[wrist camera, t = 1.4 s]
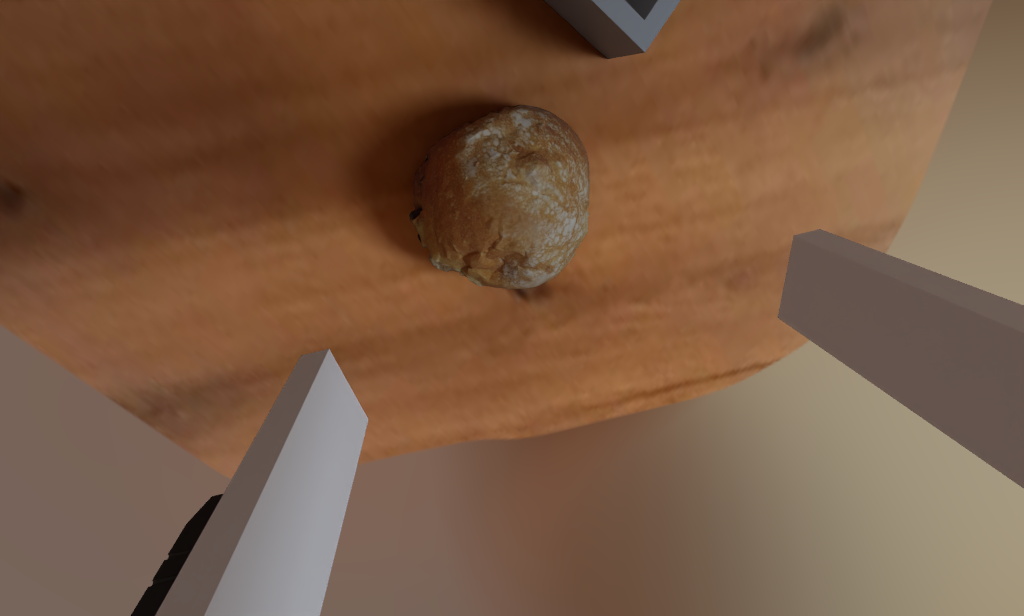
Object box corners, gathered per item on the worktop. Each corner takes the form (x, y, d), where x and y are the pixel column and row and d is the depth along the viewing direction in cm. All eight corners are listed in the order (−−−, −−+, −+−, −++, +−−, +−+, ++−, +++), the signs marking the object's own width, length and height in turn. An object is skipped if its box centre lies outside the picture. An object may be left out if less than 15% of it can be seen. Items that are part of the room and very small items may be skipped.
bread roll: (548, 242, 29) (630, 271, 23) (425, 296, 25) (486, 349, 19) (528, 95, 24) (627, 84, 18) (370, 134, 20) (429, 135, 14)
